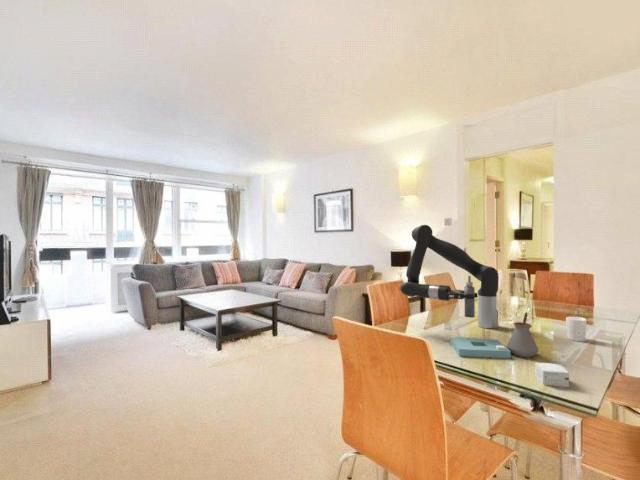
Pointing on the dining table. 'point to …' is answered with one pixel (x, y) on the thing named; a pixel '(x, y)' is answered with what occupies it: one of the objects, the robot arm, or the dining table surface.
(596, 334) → the dining table surface
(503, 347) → the socket plate
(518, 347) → the coffee pot
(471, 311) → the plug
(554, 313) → the dining table surface
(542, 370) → the small box
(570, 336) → the white cup
